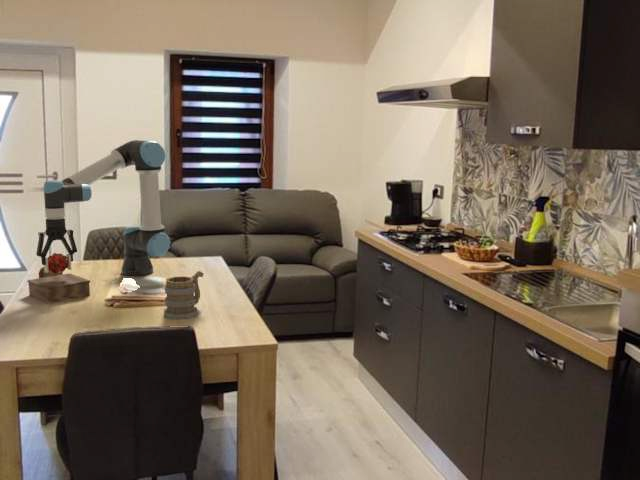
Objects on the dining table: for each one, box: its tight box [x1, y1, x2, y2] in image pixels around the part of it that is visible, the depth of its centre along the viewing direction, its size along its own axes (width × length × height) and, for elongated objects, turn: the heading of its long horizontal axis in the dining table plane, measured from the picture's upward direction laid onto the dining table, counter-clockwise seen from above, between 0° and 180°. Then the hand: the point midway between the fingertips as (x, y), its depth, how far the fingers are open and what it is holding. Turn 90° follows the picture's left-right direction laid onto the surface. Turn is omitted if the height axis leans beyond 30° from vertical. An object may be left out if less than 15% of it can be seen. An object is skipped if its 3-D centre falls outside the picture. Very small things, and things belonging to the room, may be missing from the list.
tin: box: [38, 266, 64, 278], centre depth 299 cm, size 15×3×8 cm, turn 168°
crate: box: [27, 273, 91, 305], centre depth 277 cm, size 19×19×7 cm
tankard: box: [163, 270, 204, 320], centre depth 255 cm, size 20×13×15 cm, turn 148°
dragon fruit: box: [47, 252, 69, 273], centre depth 275 cm, size 8×8×12 cm
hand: (58, 270), depth 276 cm, fingers closed on dragon fruit, 9 cm apart
